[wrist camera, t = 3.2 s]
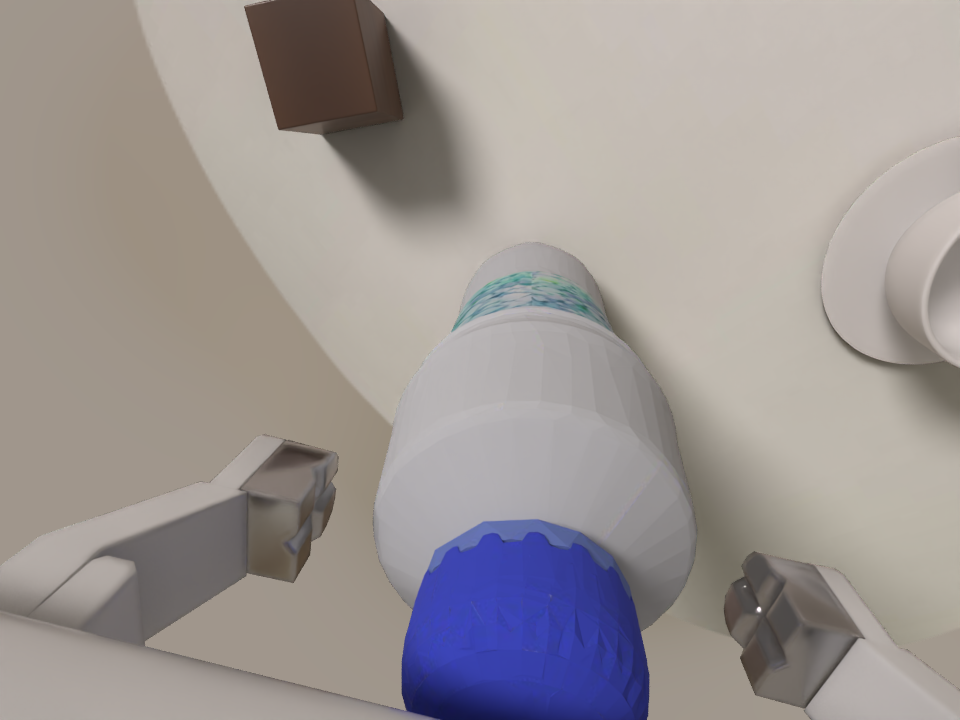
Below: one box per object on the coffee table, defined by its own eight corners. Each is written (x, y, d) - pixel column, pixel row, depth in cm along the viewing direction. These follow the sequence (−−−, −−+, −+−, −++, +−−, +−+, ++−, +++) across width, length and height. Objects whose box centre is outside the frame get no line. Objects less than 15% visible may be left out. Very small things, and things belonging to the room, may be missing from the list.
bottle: (467, 361, 26) (301, 875, 7) (461, 232, 23) (185, 522, 5) (595, 363, 25) (772, 936, 7) (604, 230, 22) (937, 560, 4)
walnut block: (320, 134, 22) (277, 130, 18) (294, 32, 21) (243, 5, 17) (404, 119, 21) (377, 111, 18) (384, 12, 20) (350, -20, 16)
